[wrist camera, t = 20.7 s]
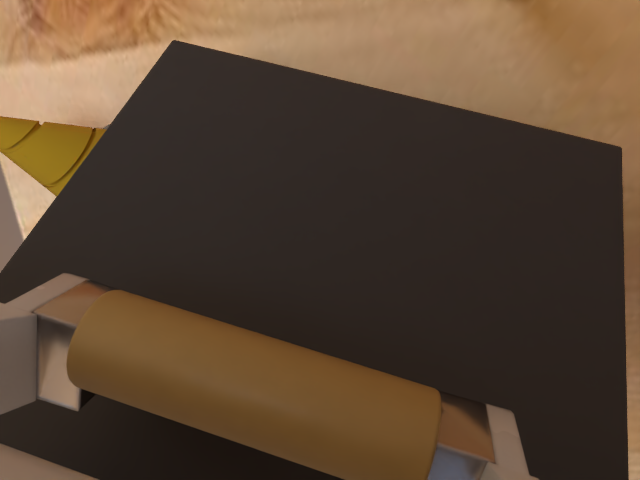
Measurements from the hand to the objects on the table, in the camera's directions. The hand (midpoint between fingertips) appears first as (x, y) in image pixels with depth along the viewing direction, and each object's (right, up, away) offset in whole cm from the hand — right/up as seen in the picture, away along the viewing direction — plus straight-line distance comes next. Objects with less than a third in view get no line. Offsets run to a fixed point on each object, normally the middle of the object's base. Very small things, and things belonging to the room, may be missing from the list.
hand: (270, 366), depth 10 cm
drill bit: (-11, +7, +18) cm, 23 cm away
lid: (+1, +2, +5) cm, 5 cm away
